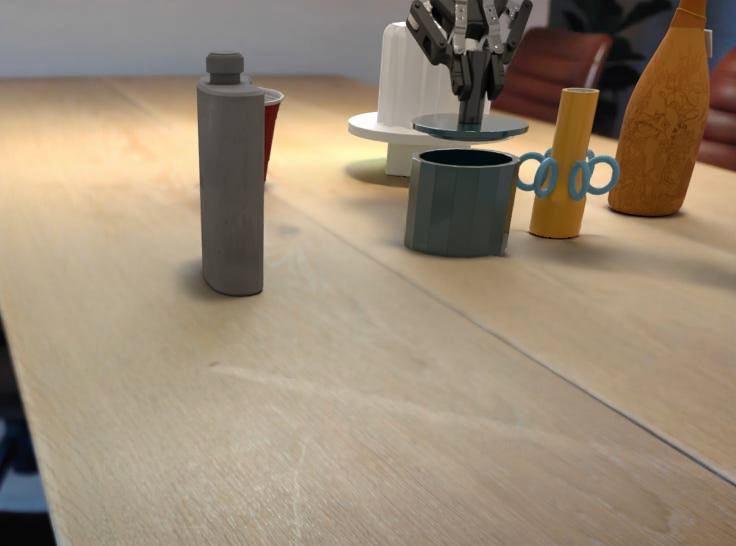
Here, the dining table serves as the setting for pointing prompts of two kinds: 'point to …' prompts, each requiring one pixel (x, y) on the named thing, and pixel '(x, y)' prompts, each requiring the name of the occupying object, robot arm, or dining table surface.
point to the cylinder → (567, 168)
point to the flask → (231, 175)
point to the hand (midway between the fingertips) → (480, 94)
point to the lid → (472, 111)
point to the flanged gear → (409, 100)
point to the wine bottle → (665, 119)
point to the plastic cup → (270, 122)
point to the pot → (461, 202)
